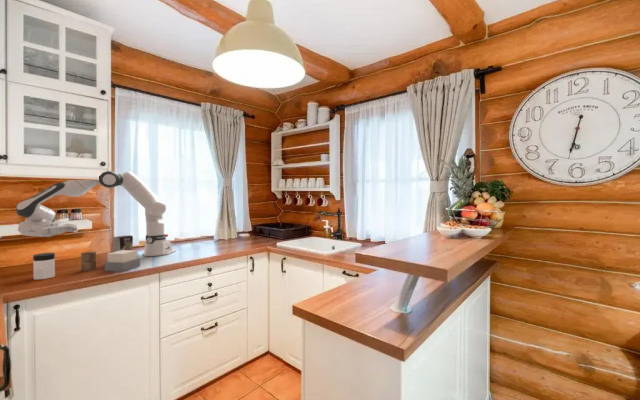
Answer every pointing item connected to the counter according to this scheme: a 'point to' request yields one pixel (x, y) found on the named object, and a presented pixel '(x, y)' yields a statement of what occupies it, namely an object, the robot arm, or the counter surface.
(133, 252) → the tower top
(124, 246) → the coffee box
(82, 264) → the walnut block
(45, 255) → the jar
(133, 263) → the tower base
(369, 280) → the counter surface
